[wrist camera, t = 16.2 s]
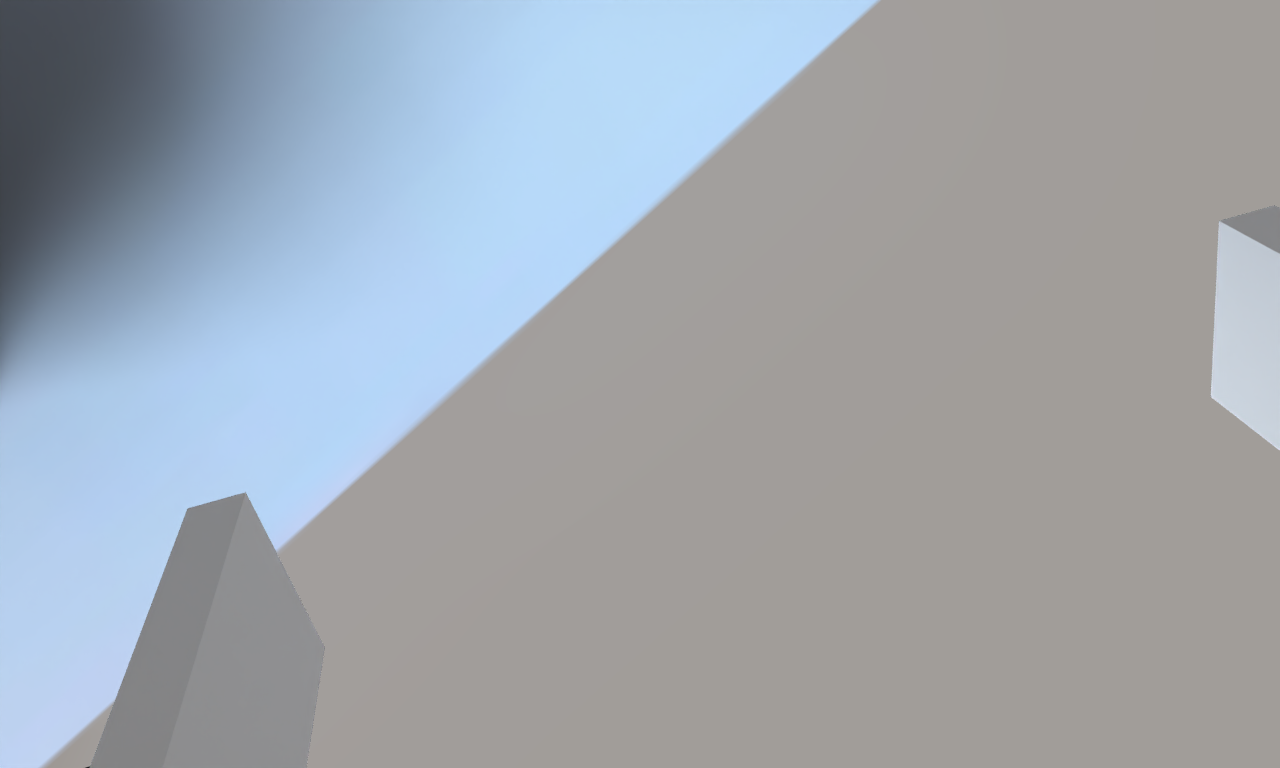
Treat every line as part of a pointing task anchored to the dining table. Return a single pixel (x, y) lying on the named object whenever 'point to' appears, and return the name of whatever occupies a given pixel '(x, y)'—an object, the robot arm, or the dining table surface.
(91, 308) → the dining table surface
